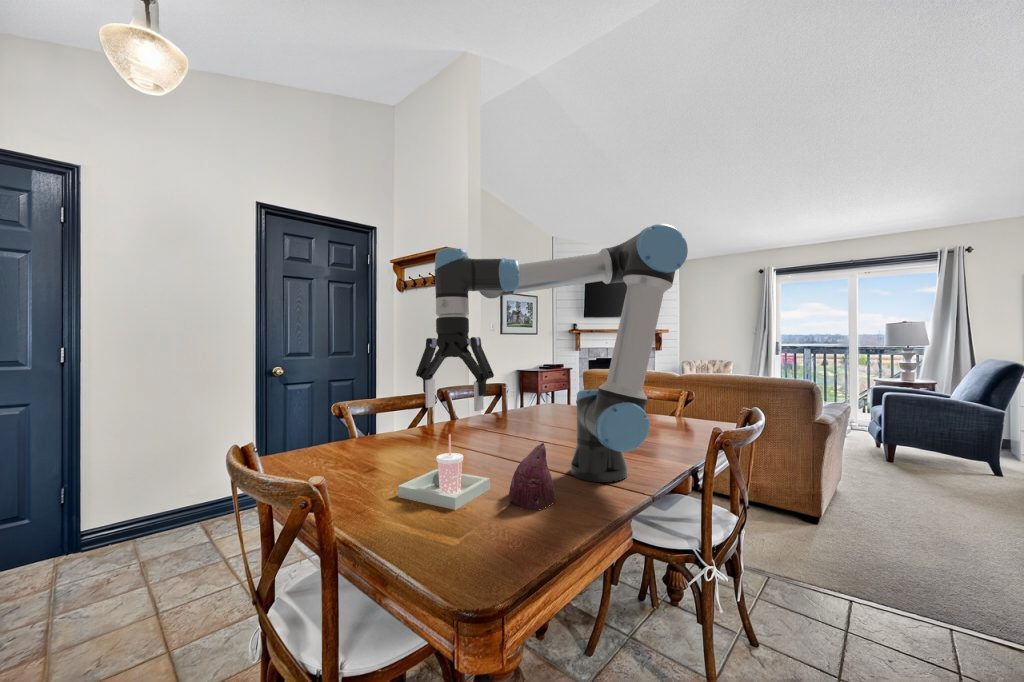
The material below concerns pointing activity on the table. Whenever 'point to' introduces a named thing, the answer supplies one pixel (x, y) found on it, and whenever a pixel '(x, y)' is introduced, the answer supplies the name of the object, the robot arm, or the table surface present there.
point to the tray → (430, 493)
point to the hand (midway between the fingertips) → (454, 408)
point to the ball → (436, 479)
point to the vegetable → (532, 482)
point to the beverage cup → (450, 471)
